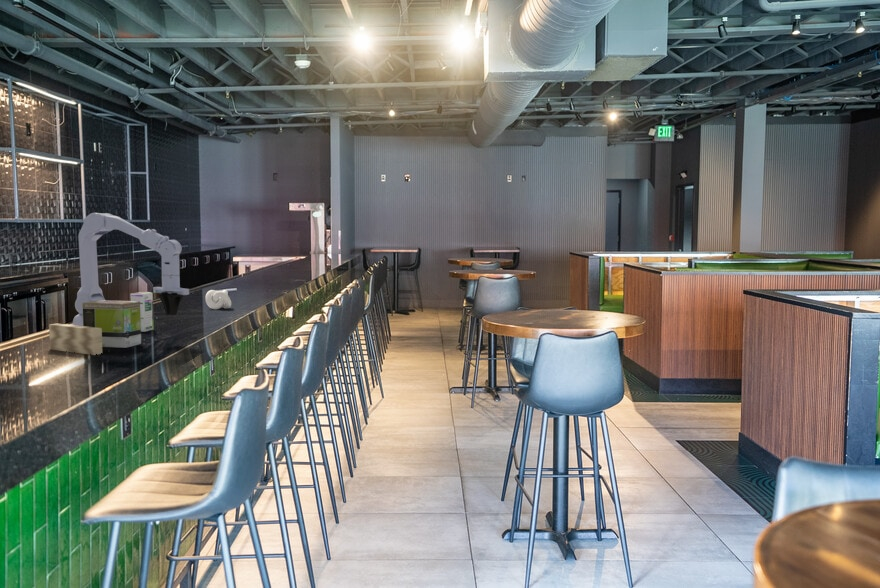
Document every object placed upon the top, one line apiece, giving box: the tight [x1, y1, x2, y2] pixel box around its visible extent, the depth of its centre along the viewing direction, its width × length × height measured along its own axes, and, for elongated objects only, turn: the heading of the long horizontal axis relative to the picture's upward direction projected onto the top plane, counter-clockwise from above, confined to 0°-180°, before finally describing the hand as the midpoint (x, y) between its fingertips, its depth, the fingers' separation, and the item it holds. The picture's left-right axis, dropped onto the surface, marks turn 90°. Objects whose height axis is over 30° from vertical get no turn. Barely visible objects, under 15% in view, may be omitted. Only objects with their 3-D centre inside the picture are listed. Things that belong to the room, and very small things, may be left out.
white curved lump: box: [204, 289, 232, 310], centre depth 347 cm, size 11×12×9 cm
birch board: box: [48, 323, 103, 356], centre depth 227 cm, size 20×3×8 cm, turn 65°
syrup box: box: [130, 291, 155, 333], centre depth 274 cm, size 6×6×14 cm
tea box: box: [83, 299, 142, 349], centre depth 240 cm, size 15×10×15 cm, turn 80°
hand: (171, 314), depth 248 cm, fingers closed
